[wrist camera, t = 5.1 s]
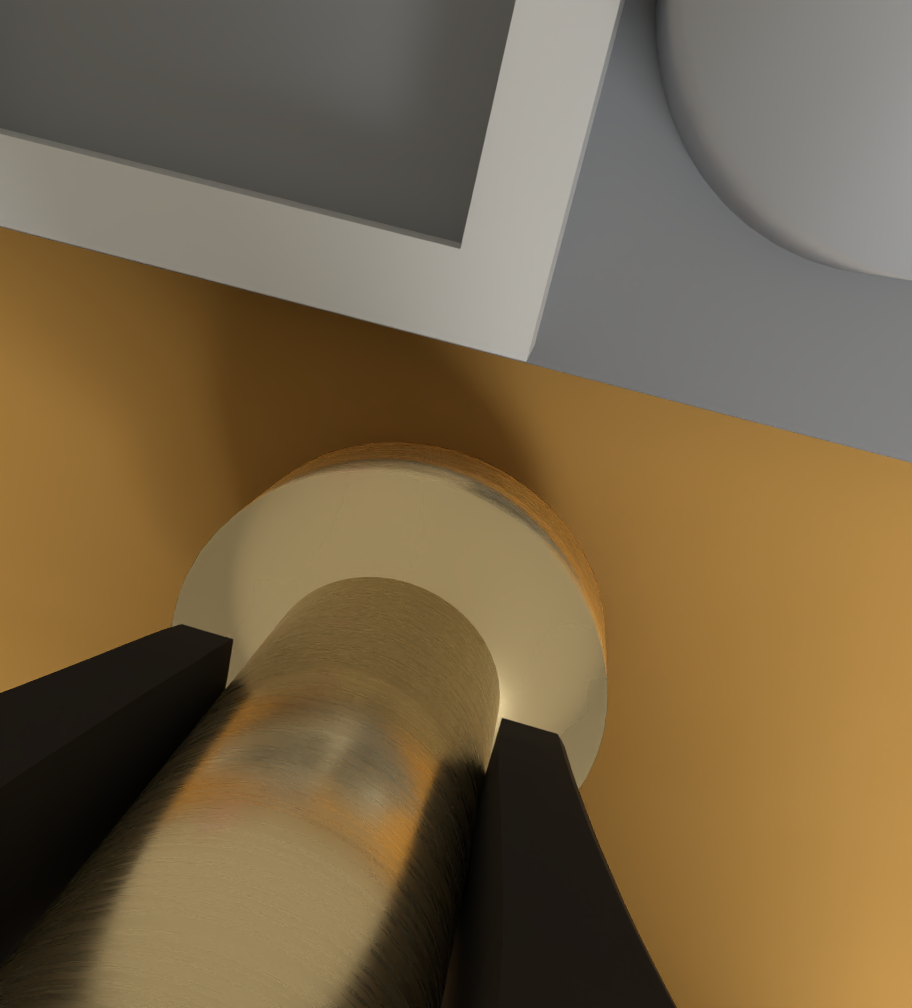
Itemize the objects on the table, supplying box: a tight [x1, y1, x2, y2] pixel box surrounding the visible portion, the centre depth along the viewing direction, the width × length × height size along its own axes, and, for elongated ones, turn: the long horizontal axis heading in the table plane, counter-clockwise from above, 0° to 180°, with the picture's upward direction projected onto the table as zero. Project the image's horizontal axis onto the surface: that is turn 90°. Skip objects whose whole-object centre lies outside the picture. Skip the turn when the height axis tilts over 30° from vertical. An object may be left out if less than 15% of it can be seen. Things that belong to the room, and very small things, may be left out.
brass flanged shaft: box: [0, 442, 608, 1008], centre depth 8 cm, size 6×6×8 cm
